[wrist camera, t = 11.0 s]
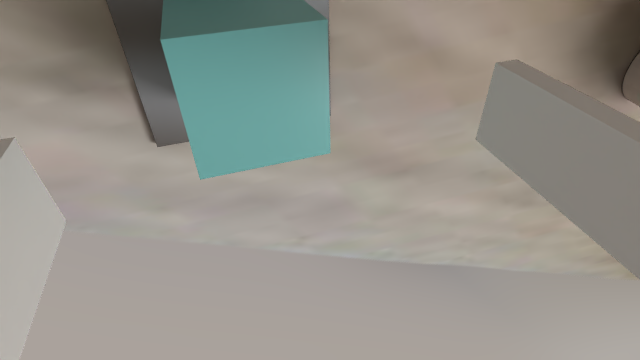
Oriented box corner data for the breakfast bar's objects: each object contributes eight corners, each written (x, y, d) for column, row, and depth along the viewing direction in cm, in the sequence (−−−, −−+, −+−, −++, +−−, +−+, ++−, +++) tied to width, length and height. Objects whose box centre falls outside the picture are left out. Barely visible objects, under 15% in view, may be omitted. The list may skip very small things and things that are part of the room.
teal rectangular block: (163, -6, 16) (160, 39, 11) (282, -17, 17) (327, 19, 12) (192, 105, 19) (200, 179, 14) (291, 89, 20) (330, 153, 15)
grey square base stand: (82, -73, 15) (33, -55, 10) (324, -87, 17) (393, -78, 12) (157, 143, 21) (153, 227, 16) (328, 112, 23) (375, 177, 18)
